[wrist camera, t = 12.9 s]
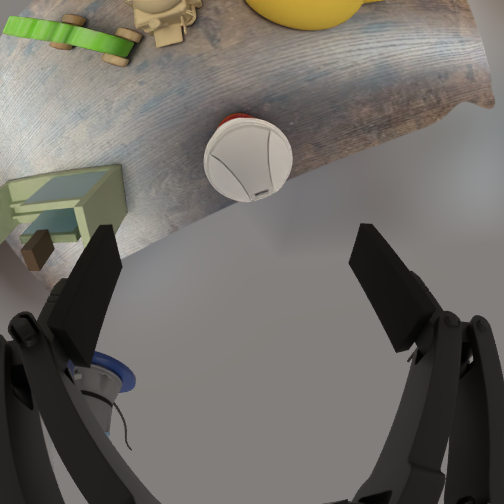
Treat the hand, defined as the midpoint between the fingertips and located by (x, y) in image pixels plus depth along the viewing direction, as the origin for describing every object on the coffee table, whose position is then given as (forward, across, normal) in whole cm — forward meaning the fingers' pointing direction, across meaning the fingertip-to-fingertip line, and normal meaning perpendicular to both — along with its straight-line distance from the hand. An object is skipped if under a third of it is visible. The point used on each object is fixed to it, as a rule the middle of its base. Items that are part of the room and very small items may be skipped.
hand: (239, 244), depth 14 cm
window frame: (+26, -27, -8) cm, 39 cm away
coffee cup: (+27, +2, 0) cm, 27 cm away
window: (+25, -23, -8) cm, 35 cm away
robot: (+27, -7, +18) cm, 33 cm away
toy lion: (+27, -19, +16) cm, 37 cm away
